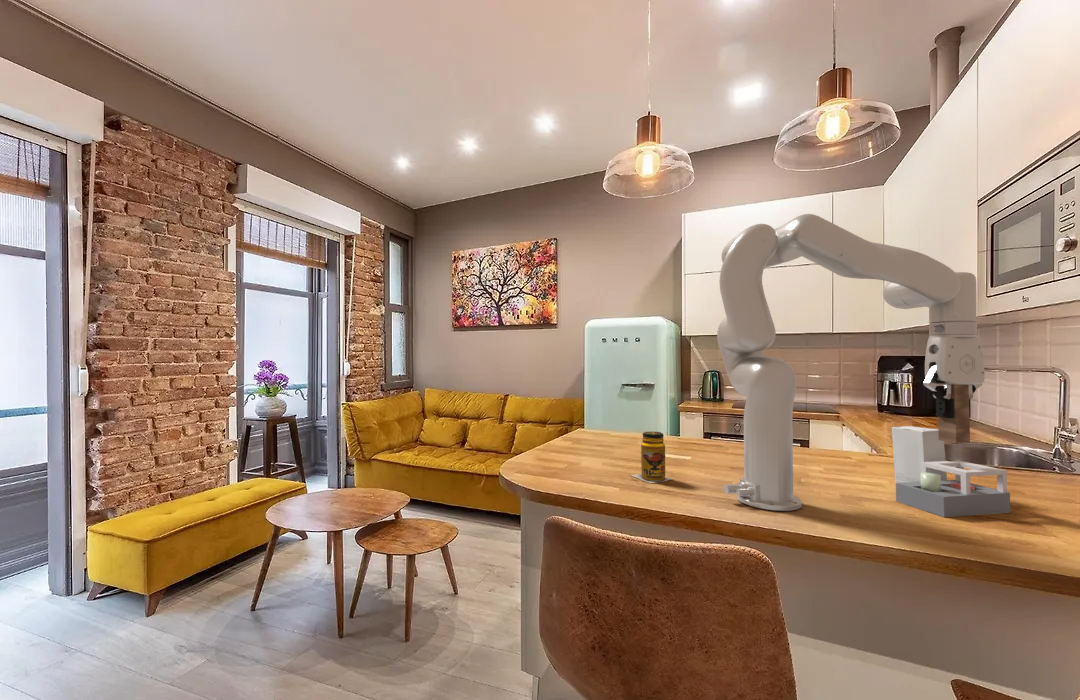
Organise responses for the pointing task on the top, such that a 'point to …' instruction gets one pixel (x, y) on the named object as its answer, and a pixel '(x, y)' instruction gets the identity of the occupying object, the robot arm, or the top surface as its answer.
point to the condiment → (652, 458)
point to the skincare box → (916, 452)
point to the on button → (931, 482)
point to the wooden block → (956, 417)
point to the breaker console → (957, 491)
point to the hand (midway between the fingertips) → (953, 416)
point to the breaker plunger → (958, 486)
